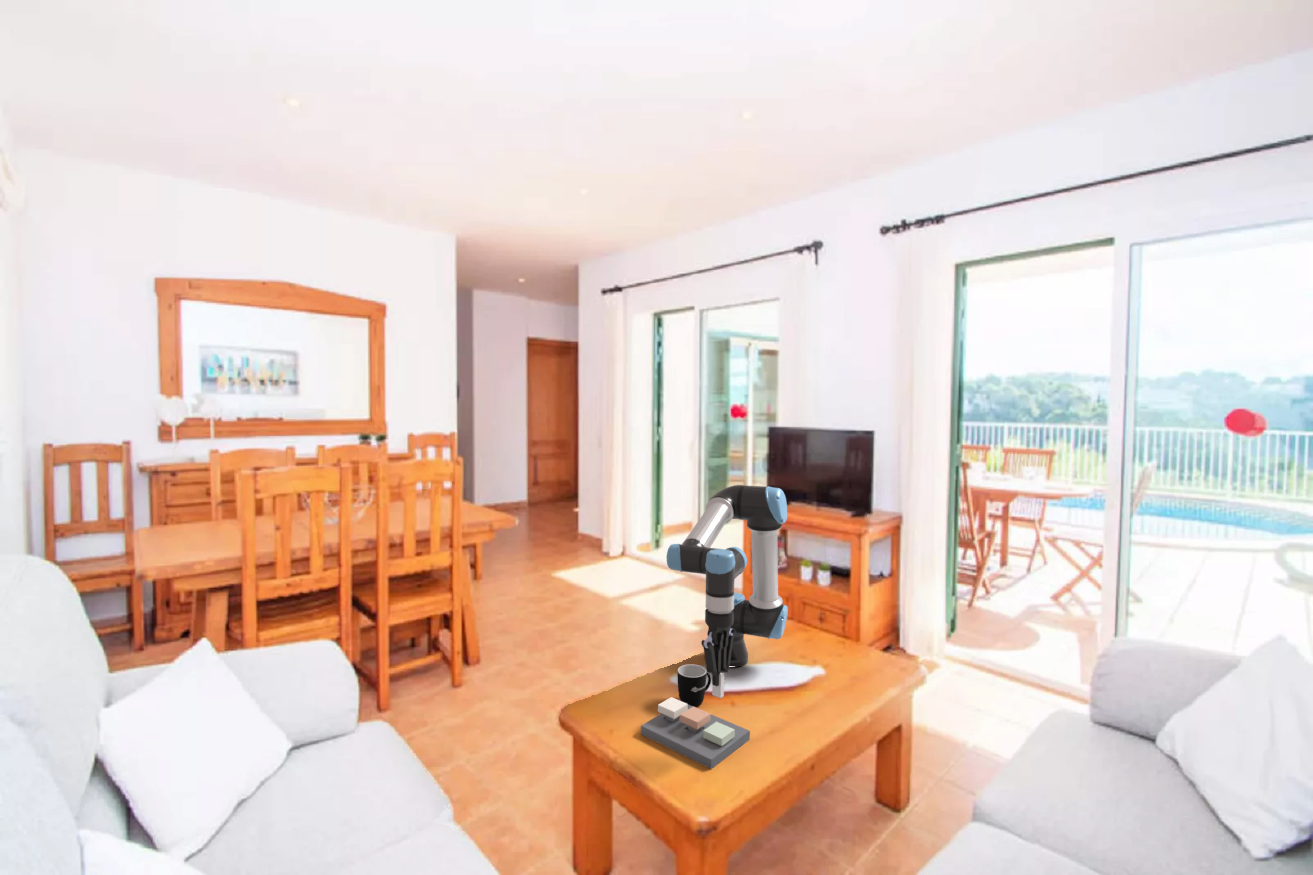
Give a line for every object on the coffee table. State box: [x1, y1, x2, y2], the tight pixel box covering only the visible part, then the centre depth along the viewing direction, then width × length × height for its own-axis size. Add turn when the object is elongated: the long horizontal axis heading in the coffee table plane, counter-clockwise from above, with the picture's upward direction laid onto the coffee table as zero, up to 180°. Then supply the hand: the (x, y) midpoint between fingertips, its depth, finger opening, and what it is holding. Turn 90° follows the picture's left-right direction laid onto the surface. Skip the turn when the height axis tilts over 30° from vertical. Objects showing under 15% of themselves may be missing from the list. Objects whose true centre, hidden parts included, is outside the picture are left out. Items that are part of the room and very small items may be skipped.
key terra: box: [680, 706, 711, 734], centre depth 168 cm, size 6×6×4 cm
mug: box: [676, 663, 712, 708], centre depth 188 cm, size 12×9×10 cm
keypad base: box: [640, 705, 751, 770], centre depth 169 cm, size 18×24×2 cm
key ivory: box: [657, 696, 688, 723], centre depth 174 cm, size 6×6×4 cm
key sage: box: [703, 722, 735, 746], centre depth 163 cm, size 6×6×4 cm
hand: (718, 695), depth 163 cm, fingers closed
